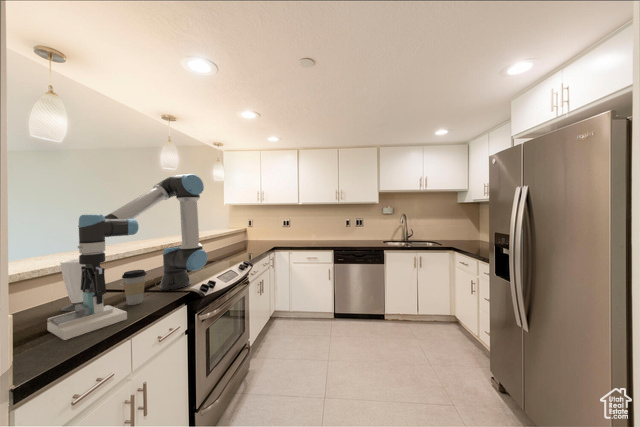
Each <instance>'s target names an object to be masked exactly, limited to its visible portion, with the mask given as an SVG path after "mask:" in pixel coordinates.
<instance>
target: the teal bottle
mask: <svg viewBox="0 0 640 427" xmlns="http://www.w3.org/2000/svg"><path fill="white" fill-rule="evenodd" d="M100 292H101V291H100ZM93 295H95V294H94V289H93V284H90V288H89V289H85V292H83V306H86V307H88V308H89V315H92V314H95V313H94V306H93V297H92V296H93ZM103 311H104V310H103ZM101 312H102V311H101ZM98 313H99V312H98Z"/></svg>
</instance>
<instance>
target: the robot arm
mask: <svg viewBox="0 0 640 427" xmlns="http://www.w3.org/2000/svg"><path fill="white" fill-rule="evenodd" d="M204 186H205V185H204V181H203V180H202V178H201V177H200V176H198V175H197V174H195V173H185V174H183V173H182V174H175V175H171V176H169V177H167V178H165V179H163V180H162V181H160V182H158V183H156V184H154V185H153V186H152V188H151V189H150V190H148V191H147V192H145V193H143V194H142V195H139V196H138V197H136V198H134V199H133V200H131V201H129V202H128V203H126V204H124V205H122V206H121V207H119V208H117V209H116V210H114V211H112V212H111V213H109V214H107V215H104V214H81V215H79V217H78V226H77V227H78V246H76V247H77V249H79V250H78V251H79V254H80V255H79V256H78V259H79V263H80V264H82V265H85V266H82V267H81V269H82V276H81V290H82V291H83V292H85V289H89V288H90V284H93V289H94V294H95V295H93V296H92V297H93V306H94V313H98V312H101V311H103V306H104V294H107V286H106V285H107V284H106V279H105V278H106V277H105V270H106V269H105V268H104V267H103V268H102V267H101V265H100V264H101V263H104V262H105V261H106V253H105V252H106V238H110V237H111V238H112V237H125V236H128V237H129V236H133V235H136V234H137V233H138V232H139V222H138V221H137V220H136V218H137V217H138V216H140V215H141V214H143V213H145V212H147V211H148V210H150V209H151V208H153V207H154V206H156V205H157V204H158V203H159V204H160V203H161V202H163V201H167V200H169V199H171V198H174V197H175V198H176V200H177V201H178V202H179V209H180V210H179V211H180V226H181V227H180V229H181V230H180V232H181V245H180V246H173V247H169V248H168V247H167V248H164V249H163V253H162V254H163V255H162V257H163V264H162V265H163V267H162V270H163V275H162V278H161V281H160V283H159V289H160V290H165V291H170V290H169V289H172V290H178V289H177V288H179V289H182V288H181V287H183V288H186V287H188V286H190V285H191V280H190V277H189V274H188V272H187V271H193V272H194V271H195V272H196V271H199V270H201V269H203V268H204V267H205V265H206V264H207V262H208V253H207V252H206V251H205V250H204V249H203V245H202V243H200V232H199V230H200V229H199V215H198V214H199V212H198V201H199V200H200V198H201V194H202V193H203V191H204V189H205V187H204ZM185 286H186V287H185ZM100 291H101V292H100Z"/></svg>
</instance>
